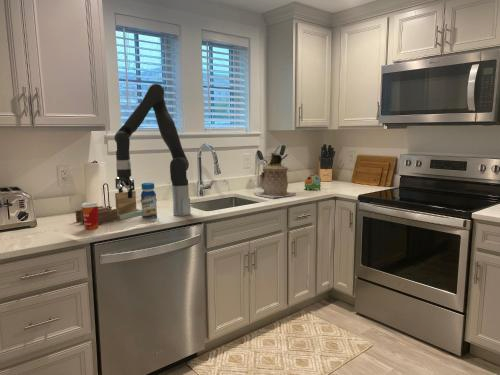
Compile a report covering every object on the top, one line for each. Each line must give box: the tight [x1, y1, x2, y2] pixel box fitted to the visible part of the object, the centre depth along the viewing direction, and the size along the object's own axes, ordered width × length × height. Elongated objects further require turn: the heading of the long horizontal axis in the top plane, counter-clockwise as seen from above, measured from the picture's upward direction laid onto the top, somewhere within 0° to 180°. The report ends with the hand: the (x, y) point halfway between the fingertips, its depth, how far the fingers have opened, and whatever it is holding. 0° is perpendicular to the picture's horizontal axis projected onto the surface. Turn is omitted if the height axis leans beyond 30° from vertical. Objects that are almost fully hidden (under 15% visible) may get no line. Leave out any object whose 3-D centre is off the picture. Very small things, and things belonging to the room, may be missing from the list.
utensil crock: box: [252, 152, 297, 200], centre depth 277 cm, size 25×25×32 cm
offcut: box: [98, 206, 107, 212], centre depth 197 cm, size 2×10×6 cm, turn 143°
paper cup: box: [81, 201, 99, 231], centre depth 182 cm, size 8×8×14 cm
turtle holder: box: [304, 174, 322, 192], centre depth 303 cm, size 12×18×12 cm
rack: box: [75, 205, 119, 225], centre depth 198 cm, size 15×15×8 cm
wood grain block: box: [114, 190, 138, 215], centre depth 210 cm, size 3×11×14 cm, turn 143°
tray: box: [117, 208, 142, 221], centre depth 211 cm, size 12×16×4 cm
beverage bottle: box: [140, 182, 158, 220], centre depth 207 cm, size 8×8×20 cm
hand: (125, 197), depth 209 cm, fingers open, 8 cm apart
